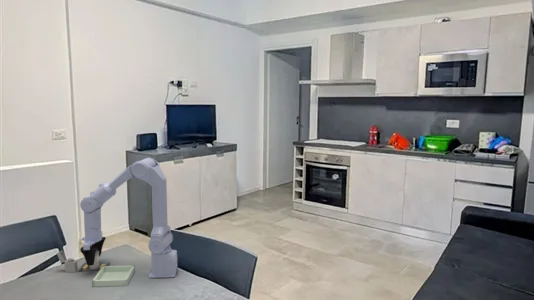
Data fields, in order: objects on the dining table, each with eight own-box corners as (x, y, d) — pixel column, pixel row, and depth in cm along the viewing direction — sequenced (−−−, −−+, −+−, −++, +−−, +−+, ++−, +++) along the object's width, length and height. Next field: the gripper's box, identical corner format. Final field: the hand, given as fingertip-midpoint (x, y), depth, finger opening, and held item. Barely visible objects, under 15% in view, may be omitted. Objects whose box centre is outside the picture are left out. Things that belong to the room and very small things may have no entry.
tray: (134, 271, 140) (134, 265, 140) (126, 286, 129) (126, 280, 129) (103, 272, 139) (102, 266, 139) (92, 287, 128) (91, 281, 127)
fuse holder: (109, 265, 145) (109, 262, 145) (105, 272, 139) (104, 269, 139) (84, 265, 144) (84, 262, 144) (78, 272, 138) (78, 269, 138)
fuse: (100, 265, 144) (100, 249, 143) (97, 269, 140) (97, 253, 139) (91, 266, 143) (90, 250, 142) (88, 270, 140) (87, 253, 139)
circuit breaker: (77, 271, 139) (77, 251, 138) (75, 273, 138) (74, 253, 137) (60, 270, 140) (59, 250, 139) (57, 272, 138) (56, 252, 137)
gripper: (88, 220, 146) (90, 253, 148) (74, 233, 132) (75, 269, 134) (107, 220, 147) (108, 252, 149) (94, 233, 133) (95, 268, 135)
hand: (94, 260), depth 141 cm, fingers open, 7 cm apart
